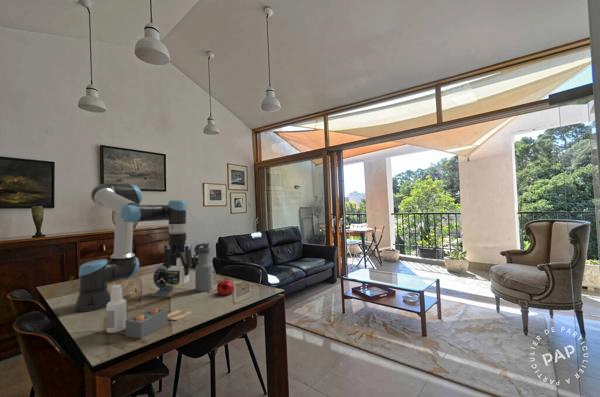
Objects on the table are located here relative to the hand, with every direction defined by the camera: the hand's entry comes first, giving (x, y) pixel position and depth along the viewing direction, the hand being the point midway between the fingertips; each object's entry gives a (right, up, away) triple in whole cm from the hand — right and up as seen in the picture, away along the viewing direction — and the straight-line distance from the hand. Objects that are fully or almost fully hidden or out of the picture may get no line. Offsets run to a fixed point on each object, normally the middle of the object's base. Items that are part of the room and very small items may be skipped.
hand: (177, 281), depth 123 cm
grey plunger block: (-6, -15, -14) cm, 22 cm away
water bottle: (-2, -17, +39) cm, 43 cm away
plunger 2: (-5, -14, -11) cm, 18 cm away
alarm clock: (-22, -18, +32) cm, 43 cm away
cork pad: (0, -16, -1) cm, 16 cm away
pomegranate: (+14, -17, +30) cm, 37 cm away
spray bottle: (-20, -16, -13) cm, 28 cm away
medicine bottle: (0, -1, 0) cm, 1 cm away
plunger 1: (-7, -14, -18) cm, 23 cm away
